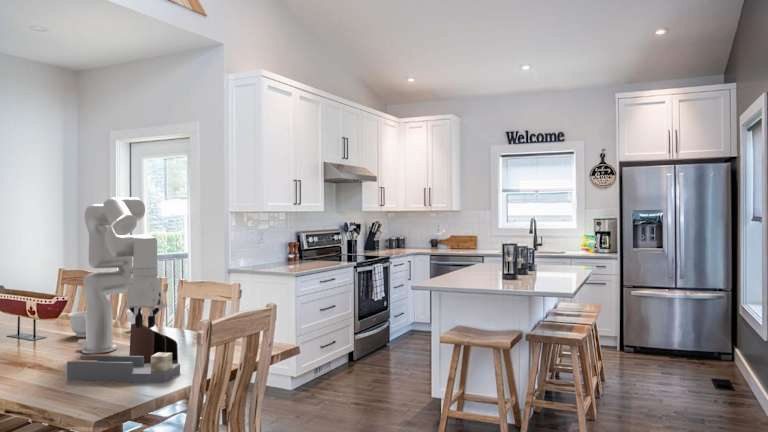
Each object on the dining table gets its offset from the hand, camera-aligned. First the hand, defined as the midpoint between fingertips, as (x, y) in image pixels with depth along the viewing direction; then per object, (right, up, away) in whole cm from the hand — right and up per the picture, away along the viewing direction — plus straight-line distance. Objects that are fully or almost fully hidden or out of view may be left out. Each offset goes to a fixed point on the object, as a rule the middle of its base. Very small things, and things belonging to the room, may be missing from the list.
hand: (145, 326), depth 187 cm
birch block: (+6, -14, -1) cm, 15 cm away
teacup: (-54, -17, +61) cm, 83 cm away
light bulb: (-37, -17, +74) cm, 84 cm away
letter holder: (-6, -17, +22) cm, 29 cm away
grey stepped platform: (-8, -17, 0) cm, 19 cm away
